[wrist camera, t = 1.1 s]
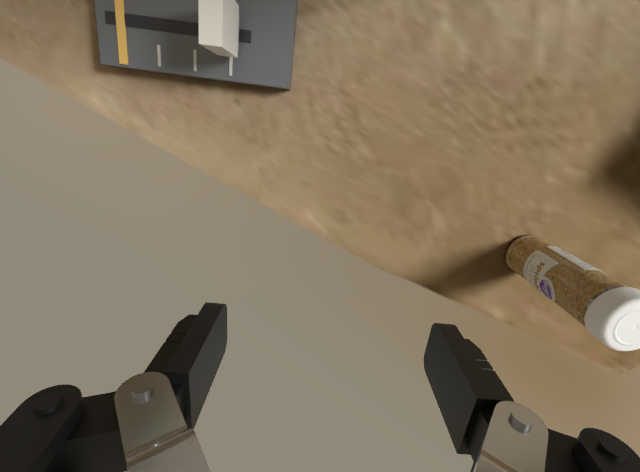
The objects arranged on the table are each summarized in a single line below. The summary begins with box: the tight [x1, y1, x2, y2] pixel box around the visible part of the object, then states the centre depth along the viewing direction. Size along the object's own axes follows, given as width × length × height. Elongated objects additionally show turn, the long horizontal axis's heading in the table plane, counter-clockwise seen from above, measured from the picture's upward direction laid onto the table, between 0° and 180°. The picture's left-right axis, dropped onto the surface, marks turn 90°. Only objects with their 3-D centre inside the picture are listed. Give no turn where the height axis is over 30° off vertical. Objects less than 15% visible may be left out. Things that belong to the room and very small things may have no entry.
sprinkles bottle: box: [506, 235, 640, 351], centre depth 29 cm, size 5×5×14 cm
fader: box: [198, 0, 240, 58], centre depth 24 cm, size 4×2×5 cm, turn 173°
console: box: [94, 0, 298, 90], centre depth 28 cm, size 7×16×2 cm, turn 83°
